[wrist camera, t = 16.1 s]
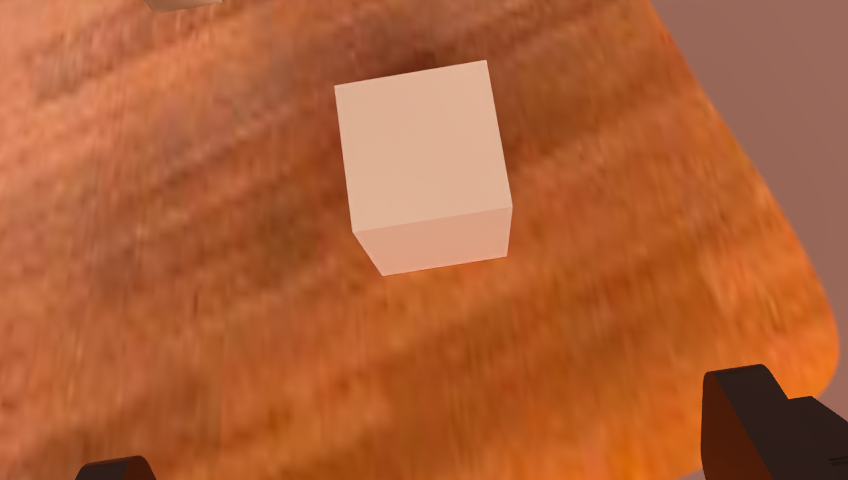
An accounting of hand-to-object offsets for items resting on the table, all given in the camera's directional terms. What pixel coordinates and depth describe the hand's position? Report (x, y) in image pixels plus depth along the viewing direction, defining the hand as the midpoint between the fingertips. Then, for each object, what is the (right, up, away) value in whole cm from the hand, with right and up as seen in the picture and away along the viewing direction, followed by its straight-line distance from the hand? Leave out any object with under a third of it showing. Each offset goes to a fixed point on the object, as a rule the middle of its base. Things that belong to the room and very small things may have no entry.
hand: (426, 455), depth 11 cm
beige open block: (+1, +5, +29) cm, 29 cm away
